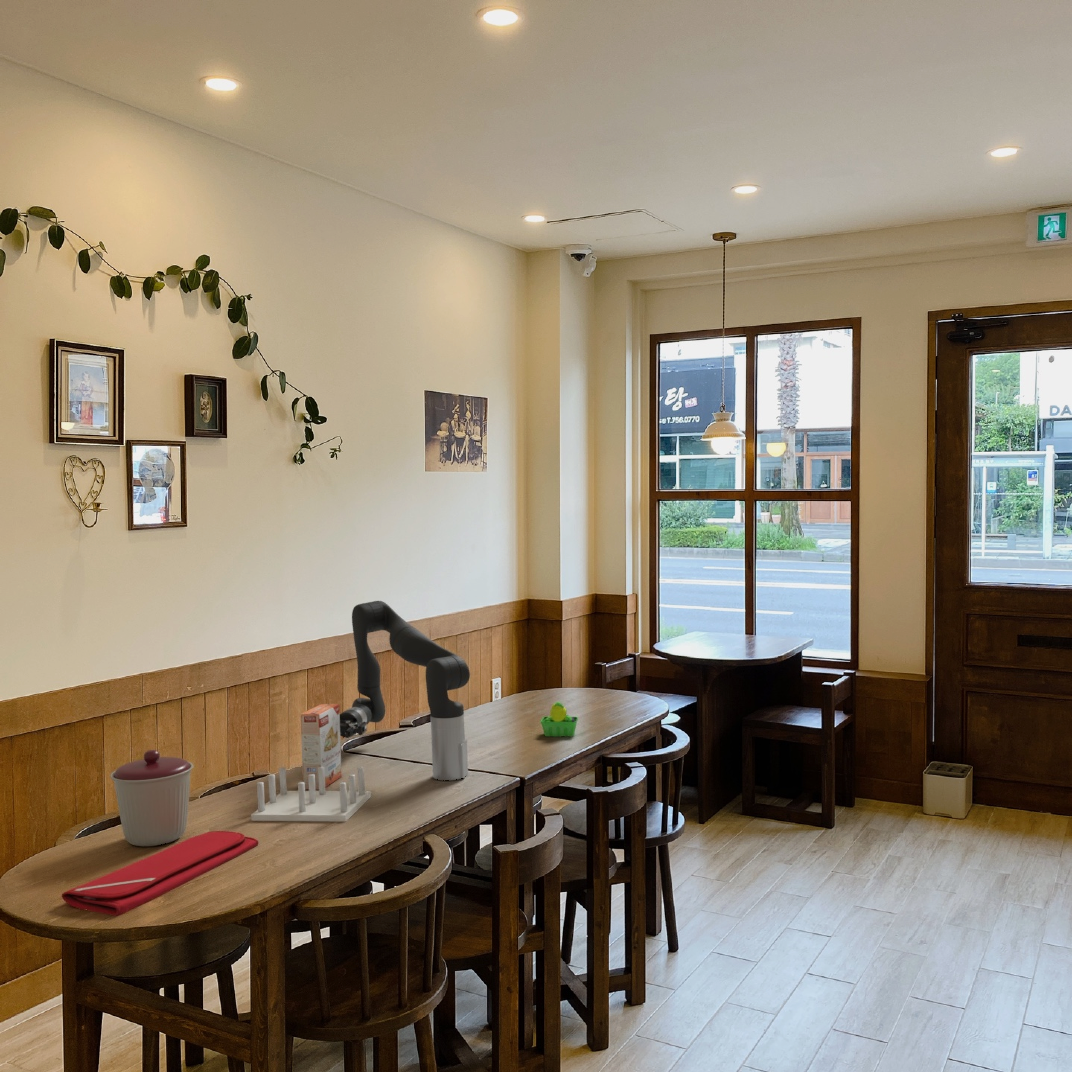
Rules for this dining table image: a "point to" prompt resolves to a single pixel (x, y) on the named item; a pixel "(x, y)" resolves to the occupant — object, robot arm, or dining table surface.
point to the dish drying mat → (158, 873)
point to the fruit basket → (559, 722)
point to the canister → (153, 798)
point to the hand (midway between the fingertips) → (332, 734)
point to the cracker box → (321, 743)
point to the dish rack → (310, 800)
